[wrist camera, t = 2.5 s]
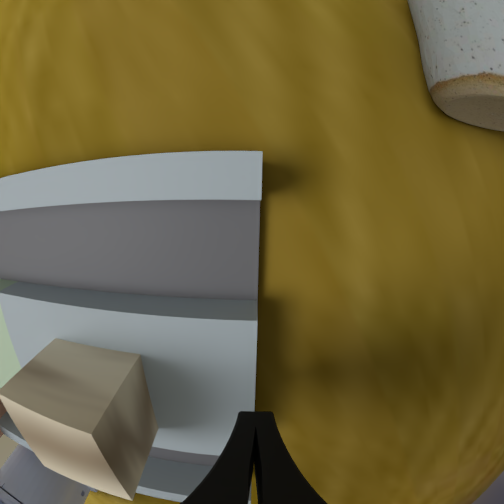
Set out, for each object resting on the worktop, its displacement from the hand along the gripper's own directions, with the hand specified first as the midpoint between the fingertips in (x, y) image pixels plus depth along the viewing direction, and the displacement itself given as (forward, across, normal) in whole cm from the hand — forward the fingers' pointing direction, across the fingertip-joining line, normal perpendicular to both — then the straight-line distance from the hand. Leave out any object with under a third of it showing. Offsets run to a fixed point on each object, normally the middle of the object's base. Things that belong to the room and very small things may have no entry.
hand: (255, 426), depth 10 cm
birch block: (+1, +8, 0) cm, 8 cm away
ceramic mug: (+4, -12, -18) cm, 22 cm away
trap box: (+4, +12, 0) cm, 13 cm away
